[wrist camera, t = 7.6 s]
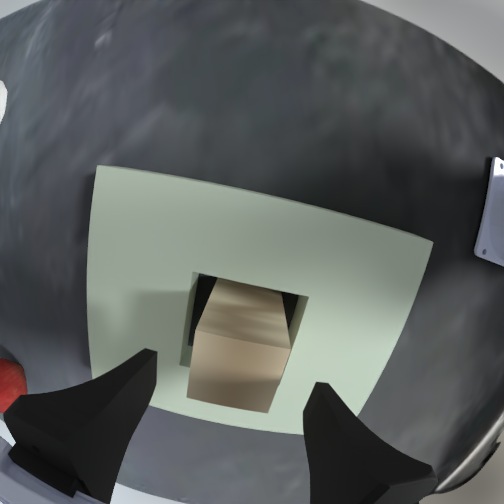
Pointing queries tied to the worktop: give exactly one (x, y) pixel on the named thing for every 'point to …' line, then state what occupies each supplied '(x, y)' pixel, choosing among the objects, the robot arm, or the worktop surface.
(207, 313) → the beech block
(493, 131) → the worktop surface
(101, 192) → the well board
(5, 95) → the fire extinguisher
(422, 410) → the worktop surface
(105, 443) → the robot arm
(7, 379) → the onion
